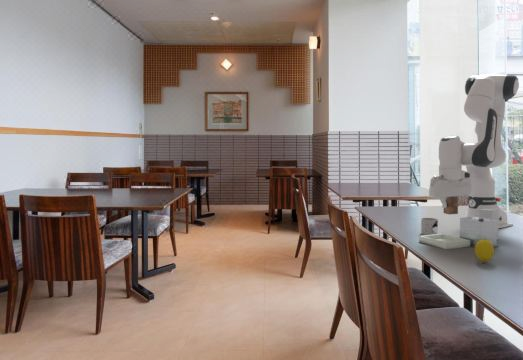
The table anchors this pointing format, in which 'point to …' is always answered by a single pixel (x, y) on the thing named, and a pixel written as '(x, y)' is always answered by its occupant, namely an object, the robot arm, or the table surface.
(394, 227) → the table surface
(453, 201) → the block
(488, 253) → the lemon
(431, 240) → the tray
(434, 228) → the mug
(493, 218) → the skincare box
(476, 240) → the block
